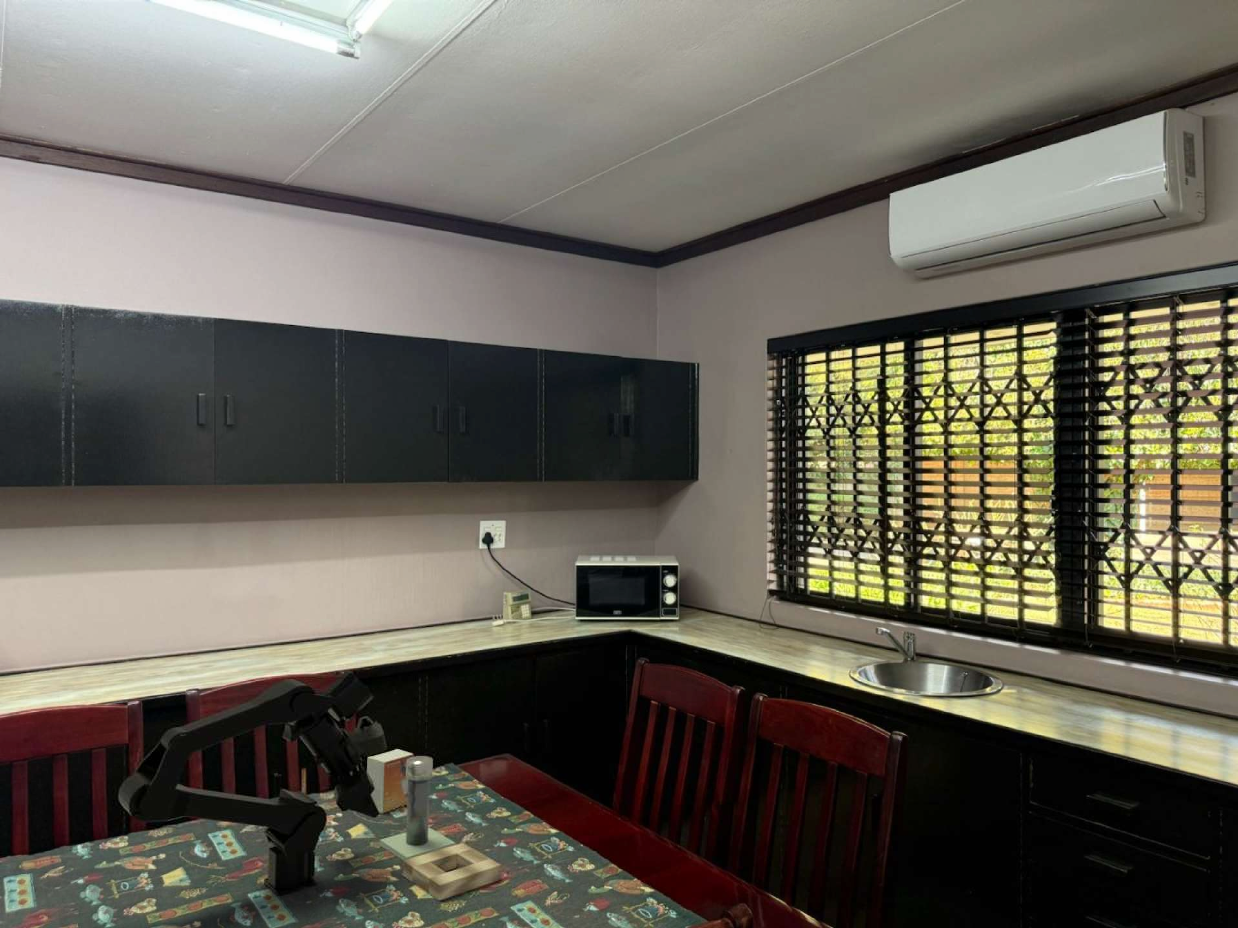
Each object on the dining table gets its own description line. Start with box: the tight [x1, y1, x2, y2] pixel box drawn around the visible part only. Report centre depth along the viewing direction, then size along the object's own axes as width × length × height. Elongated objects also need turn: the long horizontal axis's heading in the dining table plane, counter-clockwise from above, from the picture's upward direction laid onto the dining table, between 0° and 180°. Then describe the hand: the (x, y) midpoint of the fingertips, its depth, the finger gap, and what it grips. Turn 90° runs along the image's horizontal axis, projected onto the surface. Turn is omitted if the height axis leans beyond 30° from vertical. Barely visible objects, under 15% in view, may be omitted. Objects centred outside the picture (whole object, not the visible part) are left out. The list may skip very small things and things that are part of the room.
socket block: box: [402, 842, 502, 901], centre depth 154 cm, size 12×12×2 cm
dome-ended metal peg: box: [405, 755, 434, 846], centre depth 166 cm, size 5×5×15 cm
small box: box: [366, 748, 415, 814], centre depth 187 cm, size 8×6×10 cm
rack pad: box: [379, 826, 456, 862], centre depth 166 cm, size 10×10×1 cm
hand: (372, 801), depth 160 cm, fingers open, 9 cm apart
